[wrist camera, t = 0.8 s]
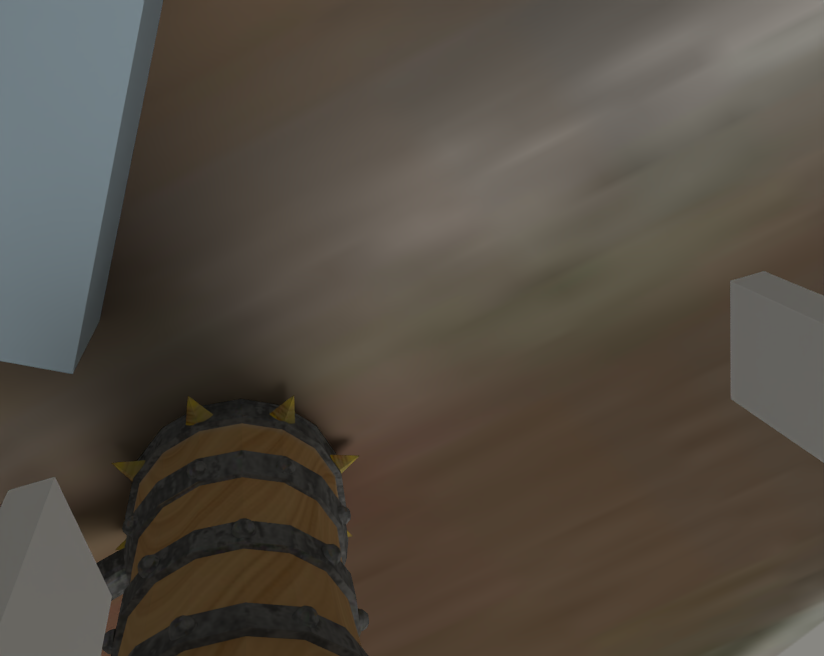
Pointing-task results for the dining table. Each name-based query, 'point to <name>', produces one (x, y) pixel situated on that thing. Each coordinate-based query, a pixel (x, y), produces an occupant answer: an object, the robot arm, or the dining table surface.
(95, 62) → the blue-gray rectangular block
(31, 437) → the dining table surface
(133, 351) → the dining table surface
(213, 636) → the mug
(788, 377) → the robot arm
